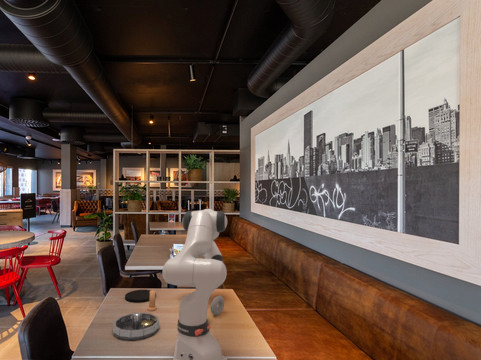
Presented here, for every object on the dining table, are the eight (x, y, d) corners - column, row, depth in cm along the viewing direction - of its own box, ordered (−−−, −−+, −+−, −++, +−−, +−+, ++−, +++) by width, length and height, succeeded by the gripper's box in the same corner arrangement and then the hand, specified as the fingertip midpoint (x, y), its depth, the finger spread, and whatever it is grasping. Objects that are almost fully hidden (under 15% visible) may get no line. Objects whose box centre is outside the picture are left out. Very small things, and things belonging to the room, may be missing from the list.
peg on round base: (158, 309, 172) (159, 291, 172) (150, 312, 168) (151, 293, 168) (153, 307, 175) (153, 289, 175) (145, 309, 171) (146, 291, 171)
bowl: (167, 329, 149) (167, 313, 149) (128, 345, 133) (129, 327, 133) (142, 317, 161) (143, 302, 161) (104, 330, 146) (105, 313, 146)
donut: (214, 318, 163) (214, 299, 163) (208, 317, 165) (209, 297, 165) (225, 312, 171) (226, 294, 171) (220, 311, 173) (221, 292, 173)
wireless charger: (121, 303, 179) (121, 300, 179) (128, 292, 196) (128, 289, 196) (153, 303, 181) (153, 299, 181) (157, 292, 199) (157, 289, 199)
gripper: (190, 259, 195) (168, 262, 187) (204, 268, 177) (181, 270, 170) (189, 269, 195) (168, 272, 187) (204, 279, 177) (181, 282, 170)
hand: (174, 271), depth 178 cm, fingers open, 8 cm apart
